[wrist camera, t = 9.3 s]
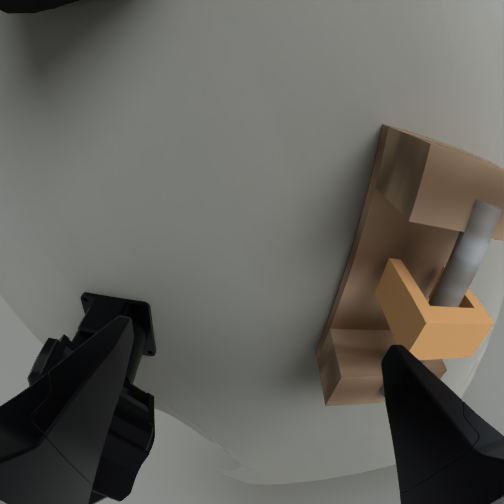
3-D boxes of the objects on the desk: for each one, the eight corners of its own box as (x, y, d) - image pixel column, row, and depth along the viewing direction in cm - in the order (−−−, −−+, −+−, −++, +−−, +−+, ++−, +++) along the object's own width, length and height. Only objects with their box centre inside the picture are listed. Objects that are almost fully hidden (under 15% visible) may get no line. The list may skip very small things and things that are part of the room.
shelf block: (406, 351, 27) (428, 405, 21) (315, 351, 27) (327, 415, 21) (488, 161, 17) (549, 196, 11) (382, 124, 17) (441, 148, 11)
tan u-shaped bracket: (452, 267, 20) (494, 323, 14) (437, 298, 21) (471, 356, 15) (388, 258, 19) (426, 323, 14) (375, 292, 21) (403, 360, 15)
